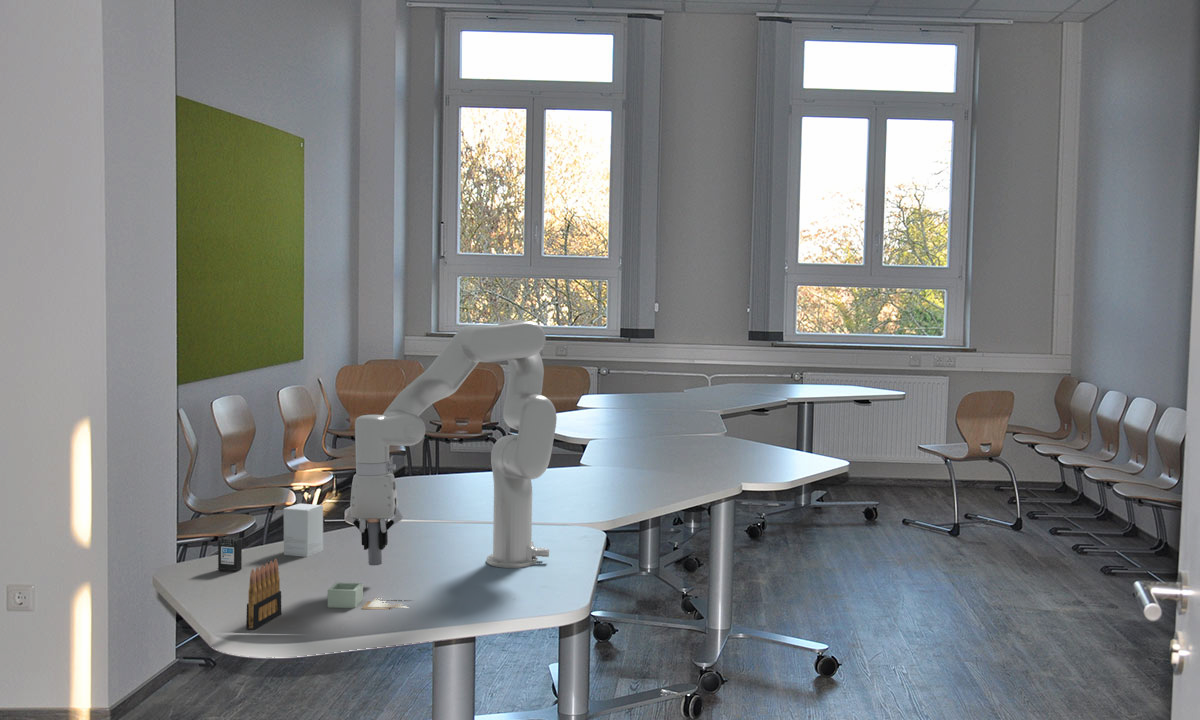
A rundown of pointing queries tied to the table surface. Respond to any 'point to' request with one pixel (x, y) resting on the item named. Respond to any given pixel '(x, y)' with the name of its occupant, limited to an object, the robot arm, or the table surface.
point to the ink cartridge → (230, 554)
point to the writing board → (382, 604)
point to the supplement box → (303, 529)
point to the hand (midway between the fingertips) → (374, 547)
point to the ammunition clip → (263, 596)
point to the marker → (374, 542)
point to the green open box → (345, 595)
